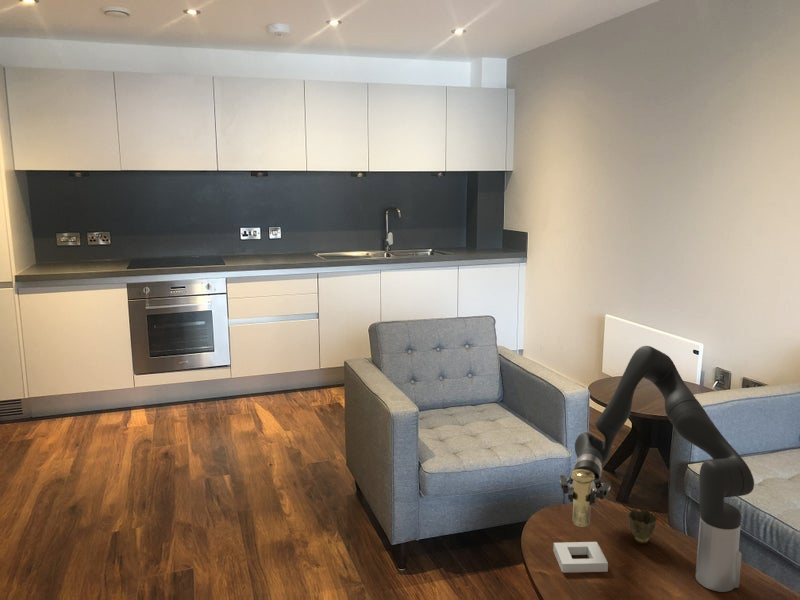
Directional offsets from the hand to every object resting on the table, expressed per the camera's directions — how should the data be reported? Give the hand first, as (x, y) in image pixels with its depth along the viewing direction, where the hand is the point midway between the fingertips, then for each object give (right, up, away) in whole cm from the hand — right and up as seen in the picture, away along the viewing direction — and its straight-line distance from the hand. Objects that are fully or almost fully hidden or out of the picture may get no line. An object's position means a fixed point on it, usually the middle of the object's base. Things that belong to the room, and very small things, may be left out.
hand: (581, 500), depth 173 cm
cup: (+21, -16, +15) cm, 31 cm away
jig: (+1, -18, +6) cm, 20 cm away
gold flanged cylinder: (+1, -7, +4) cm, 8 cm away
